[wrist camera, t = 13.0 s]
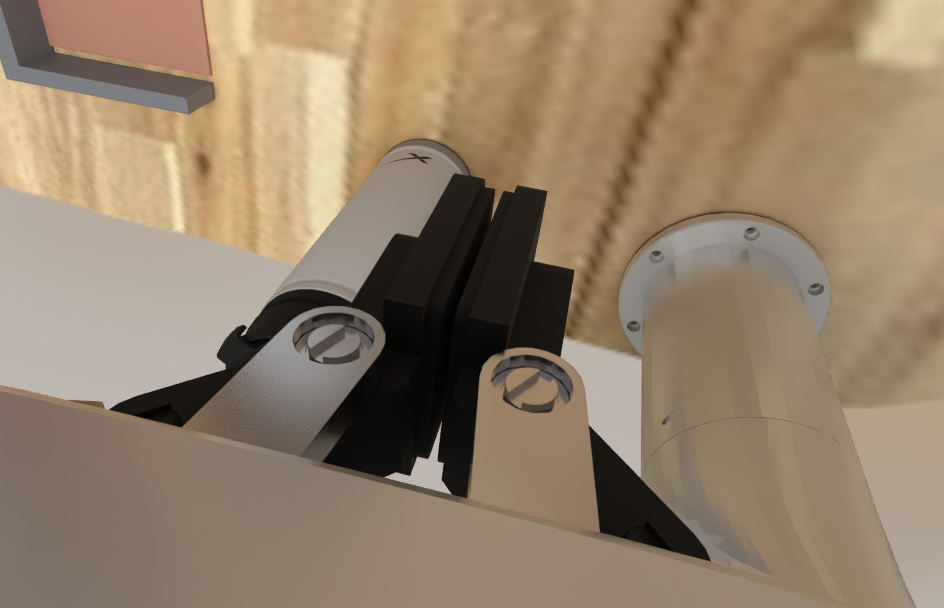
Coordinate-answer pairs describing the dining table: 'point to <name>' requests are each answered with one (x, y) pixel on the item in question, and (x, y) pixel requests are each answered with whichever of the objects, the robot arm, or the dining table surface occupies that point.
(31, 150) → the dining table surface
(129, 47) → the bay rack
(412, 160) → the travel mug
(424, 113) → the dining table surface
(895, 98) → the dining table surface
